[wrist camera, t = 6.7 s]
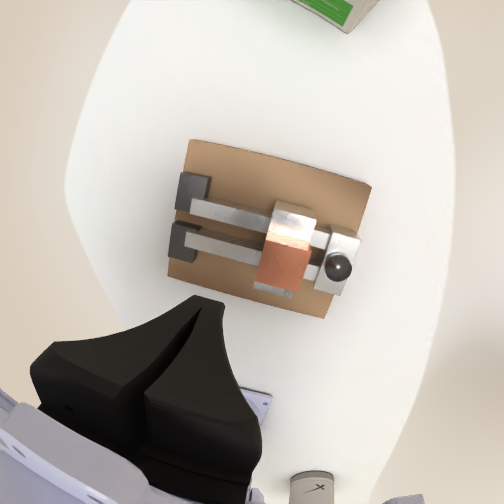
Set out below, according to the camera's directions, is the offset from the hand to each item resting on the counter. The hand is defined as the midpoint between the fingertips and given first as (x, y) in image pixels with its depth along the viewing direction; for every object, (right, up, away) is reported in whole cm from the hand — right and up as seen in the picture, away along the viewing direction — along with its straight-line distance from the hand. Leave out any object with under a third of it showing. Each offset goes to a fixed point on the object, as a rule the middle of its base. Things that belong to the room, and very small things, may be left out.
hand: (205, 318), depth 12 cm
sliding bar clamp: (+3, +4, +7) cm, 9 cm away
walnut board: (+3, +4, +9) cm, 10 cm away
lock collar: (+4, +3, +7) cm, 9 cm away
